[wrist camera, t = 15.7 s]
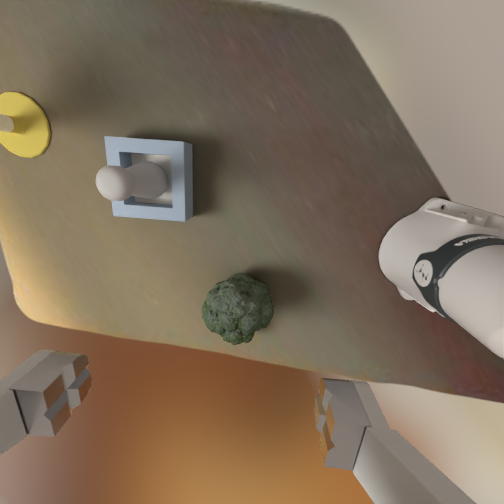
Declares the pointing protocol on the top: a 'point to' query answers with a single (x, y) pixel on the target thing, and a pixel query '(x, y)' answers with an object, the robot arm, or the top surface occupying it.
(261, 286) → the vegetable
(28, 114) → the candle
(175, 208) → the container
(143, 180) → the salt shaker
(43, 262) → the top surface
